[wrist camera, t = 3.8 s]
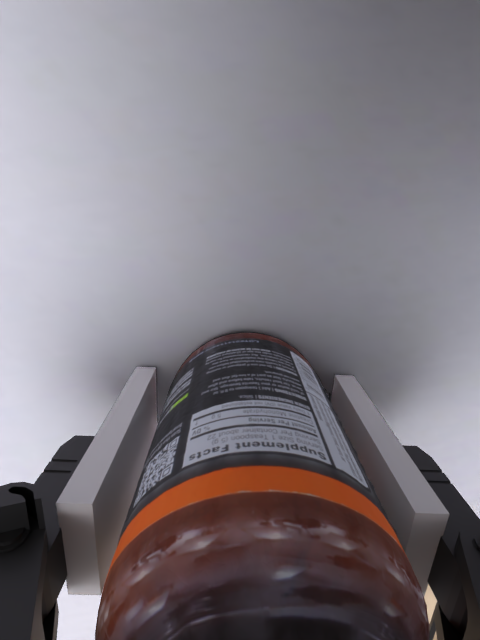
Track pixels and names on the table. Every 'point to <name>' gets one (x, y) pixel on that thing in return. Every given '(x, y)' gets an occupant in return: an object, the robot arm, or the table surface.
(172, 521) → the supplement bottle
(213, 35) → the table surface
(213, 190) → the table surface
